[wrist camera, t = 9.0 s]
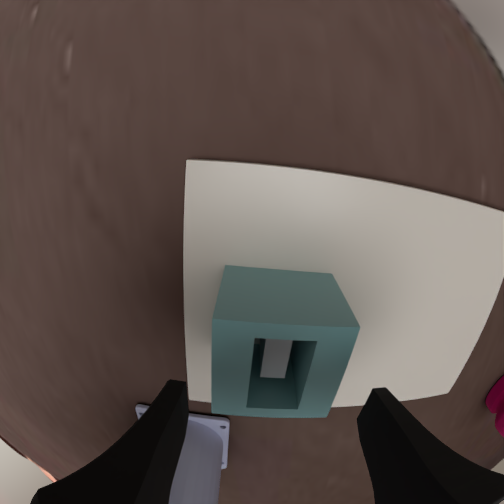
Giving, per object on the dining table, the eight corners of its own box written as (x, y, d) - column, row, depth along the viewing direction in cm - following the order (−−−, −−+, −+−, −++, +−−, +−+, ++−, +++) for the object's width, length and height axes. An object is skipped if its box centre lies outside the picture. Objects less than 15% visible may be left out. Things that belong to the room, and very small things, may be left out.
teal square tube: (312, 355, 17) (326, 417, 12) (221, 349, 17) (211, 412, 12) (332, 273, 15) (360, 327, 10) (225, 264, 15) (211, 318, 10)
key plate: (442, 384, 20) (463, 418, 16) (191, 388, 20) (180, 436, 16) (509, 213, 15) (551, 232, 10) (191, 158, 14) (165, 164, 10)
